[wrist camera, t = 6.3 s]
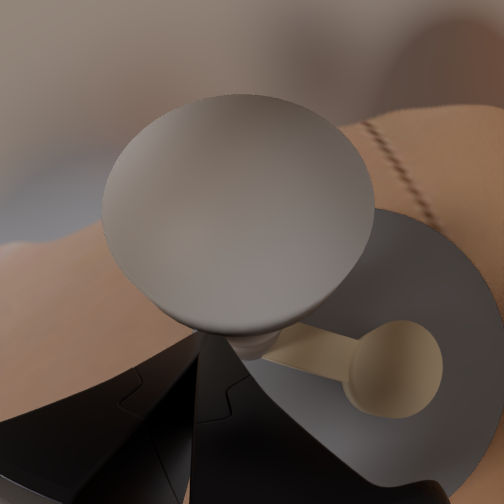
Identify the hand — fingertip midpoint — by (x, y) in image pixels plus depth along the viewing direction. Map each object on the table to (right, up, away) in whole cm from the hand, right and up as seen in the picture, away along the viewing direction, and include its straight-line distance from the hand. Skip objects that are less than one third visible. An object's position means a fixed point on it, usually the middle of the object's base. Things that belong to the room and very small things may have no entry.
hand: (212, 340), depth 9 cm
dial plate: (+8, -4, +7) cm, 12 cm away
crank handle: (+5, -3, +7) cm, 9 cm away
